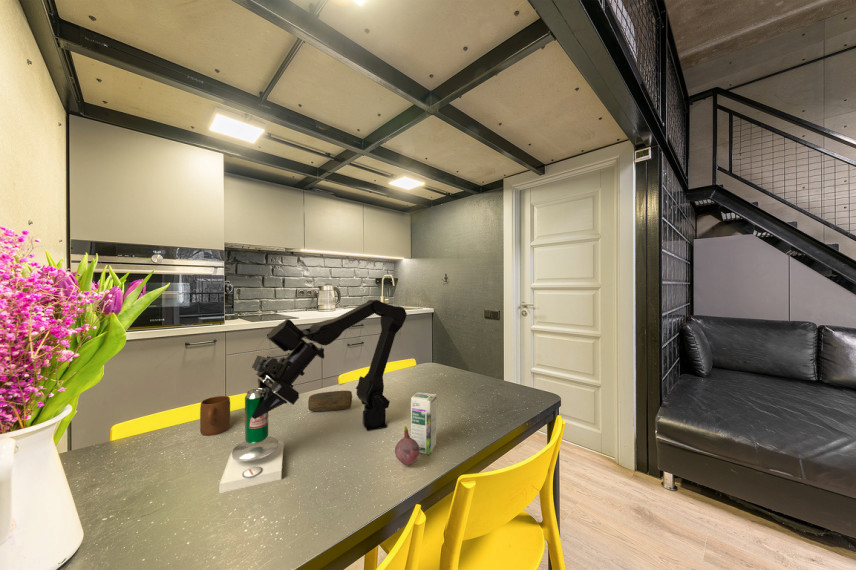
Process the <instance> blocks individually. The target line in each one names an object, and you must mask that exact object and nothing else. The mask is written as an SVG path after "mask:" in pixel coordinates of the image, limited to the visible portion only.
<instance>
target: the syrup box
mask: <svg viewBox="0 0 856 570" xmlns="http://www.w3.org/2000/svg"><path fill="white" fill-rule="evenodd" d="M410 438H412V439H414V440H415V441H416V442H417V443H418V445H419V449H420V453H422V454H423V455H425V454H426V455H429V456H430V455H431V454H432V452H433V451H434V449H435V448H436V445H437V394H436V393H426V392H421V391H418V392H416V393H415V394H414V395H412V397H411V398H410ZM420 453H419V454H420Z"/></svg>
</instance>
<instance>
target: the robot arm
mask: <svg viewBox="0 0 856 570" xmlns="http://www.w3.org/2000/svg"><path fill="white" fill-rule="evenodd" d="M374 314H375V315H377V316H379V317H380V326H381V327H380V329H381V331H380V334H379V337H378V340H377V343H376V346H375V350H374V354H373V356H372V360H371V363H370V367H369V368H368V372H367V373H366V375H364V376H361V375H360V376H359V378H358V383H357V386H355V389H356V396H357V398H358V399H359V400H360V401H361V404H362V405H363V406H364V407H363V408H364V409H363V410H362V425H363V427H364V428H365V430H366V431H373V430H378V429H385V428H388V424H387V423H386V419H387V418H386V417H387V415H386V413H387V411H386V409H388V408H389V406H390V403H391V402H390V400H389V399H388V398H387V397H386V396H385V395H384V390H385V389H384V388H385V384H384V374H385V371H386V366H387V364H388V361H389V357H390V354H391V350H392V348H393V344H394V341H395V337H396V335H397V333H398V332H399V330H401V329H402V327H403V325H404V324H405V321H406V320H407V312H406V309H405V308H404V307H402V306H400V305H399V306H398V305H392V304H389V303H385V302H383V301H381V300H379V299H369V300H367V301H365V302H364V303H362V304H360V305H359V306H357V307H355V308H353V309H351V310H349V311H347V312H345V313H343V314H341V315H339V316H337V317H334V318H330V319H325V320H321V321H319V322H316V323H313V324H312V325H311V326H310V327H308V328H304V329H300V328H299V327H297V326H296V325H295V324H294V322H293V321H292V320H291V319H289V318H285V320H284V321H282V322H281V323H279V324H278V325H276V326H274V327H273V328H272V329H271V330H270V332H269V333H268V335H267V338H266V339H267V340H269V341H270V342H271V343H273V344H274V345H275V346H276V347H278V348H279V349H280V350H281V351H283V352H285V353H286V352H288V351H290V353H289V354H288V355H287V356H286V357H281V358H280V359H279V360H278V358H276V357H272V356H268V357H265V356H262V355H256V358H255V360H254V362H253V363H252V366H251V368H252V369H253V370H254V371H256V375H257V377H258V378H257V384H258V387H257V389H258V388H264V389H266V395H265V397H264V399H263V400H262V401H261V403H260V404H259V406H258V407H257V408H256V410H255V411H254V413H253V414H252V418H254V419H256V418H258V417H260V416H261V415H263V414H265V413H267V412H268V413H269V412H271V411H272V410H274V409H276V408H278V407H281V406H282V405H284V404H287V403H290V404H291V405H292V406H293V405H295V404H296V402H297V401H298V400H299V399H300V393H299V392H298V391H297V390H296V389H295V387H294V385H293V384H294V382H295V381H297V379H298V378H299V377H300V376H302V377H303V376H304V375H305V374H306V372H304V371H305V370H306V368H307V367H308V366H309V365H310V364H311V362H312V361H314V359H315V358H316V357H318V358H320V359H325V348H324V347H318V346H316V344H319V345H320V346H327V345H331V344H332V343H333V342H334V341H335V340H337V339H338V338H339V337H340V336H341V335H342V334H343V333H344V332H345V331H346V330H347V329H349V328H351V327H353V326H354V325H356V324H358V323H360V322H361V321H363V320H365V319H367V318H369V317H371V316H372V315H374ZM304 339H305V340H308V341H310V342H307V341H305V340H304ZM314 343H315V344H314ZM260 378H261V379H260Z"/></svg>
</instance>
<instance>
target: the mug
mask: <svg viewBox="0 0 856 570" xmlns="http://www.w3.org/2000/svg"><path fill="white" fill-rule="evenodd" d="M230 399H231V398H230V397H229V396H227V395H218V396H212V397H208V398H206V399H205V398H204V399H203V400H202V401H201V402H200V410H199V417H200V418H199V425H200V426H199V428H200V429H199V431H200V434H201V435H202V436H215V435H219V434H222V433H224V432H226V431H228V430H229V428H230V426H231V400H230Z"/></svg>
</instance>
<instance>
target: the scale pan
mask: <svg viewBox="0 0 856 570" xmlns="http://www.w3.org/2000/svg"><path fill="white" fill-rule="evenodd" d="M278 443H279V440H278V438H276V437H273V436H272V437H271V436H267V438H266V439H265V440H263V441H261V442H258V443H248V442H246V441H245V440H244V441H243V442H241V443H238V444H237V445H236V446H235V447H234V448H233V449H232V451H231V452H232V458H233V459H234V460H237V461H253V460H257V459H261V458H263V457H266V456H268V455H270V454H272V453H273V452H274V451H275V450H276V449H277V448H278Z"/></svg>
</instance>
